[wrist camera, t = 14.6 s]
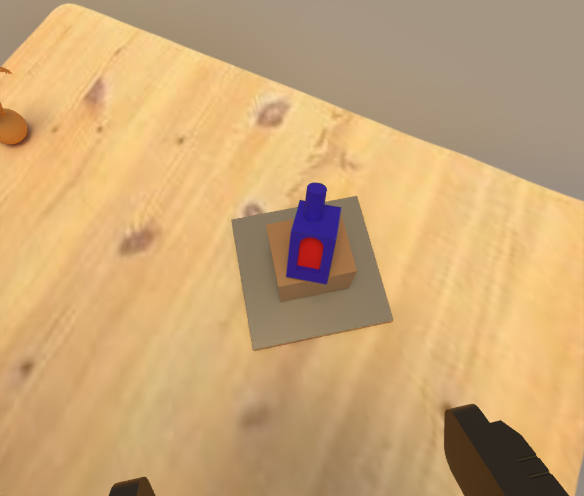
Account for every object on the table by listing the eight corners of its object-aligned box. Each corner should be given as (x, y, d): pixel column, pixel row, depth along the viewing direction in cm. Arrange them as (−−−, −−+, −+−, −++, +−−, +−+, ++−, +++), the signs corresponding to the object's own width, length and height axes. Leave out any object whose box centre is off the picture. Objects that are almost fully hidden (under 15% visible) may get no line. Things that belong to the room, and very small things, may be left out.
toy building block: (332, 252, 37) (347, 179, 32) (326, 285, 34) (342, 210, 29) (294, 245, 38) (303, 171, 32) (285, 277, 35) (293, 201, 29)
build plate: (254, 350, 40) (245, 341, 33) (232, 223, 44) (221, 193, 38) (391, 322, 41) (409, 307, 34) (355, 200, 45) (365, 166, 39)
